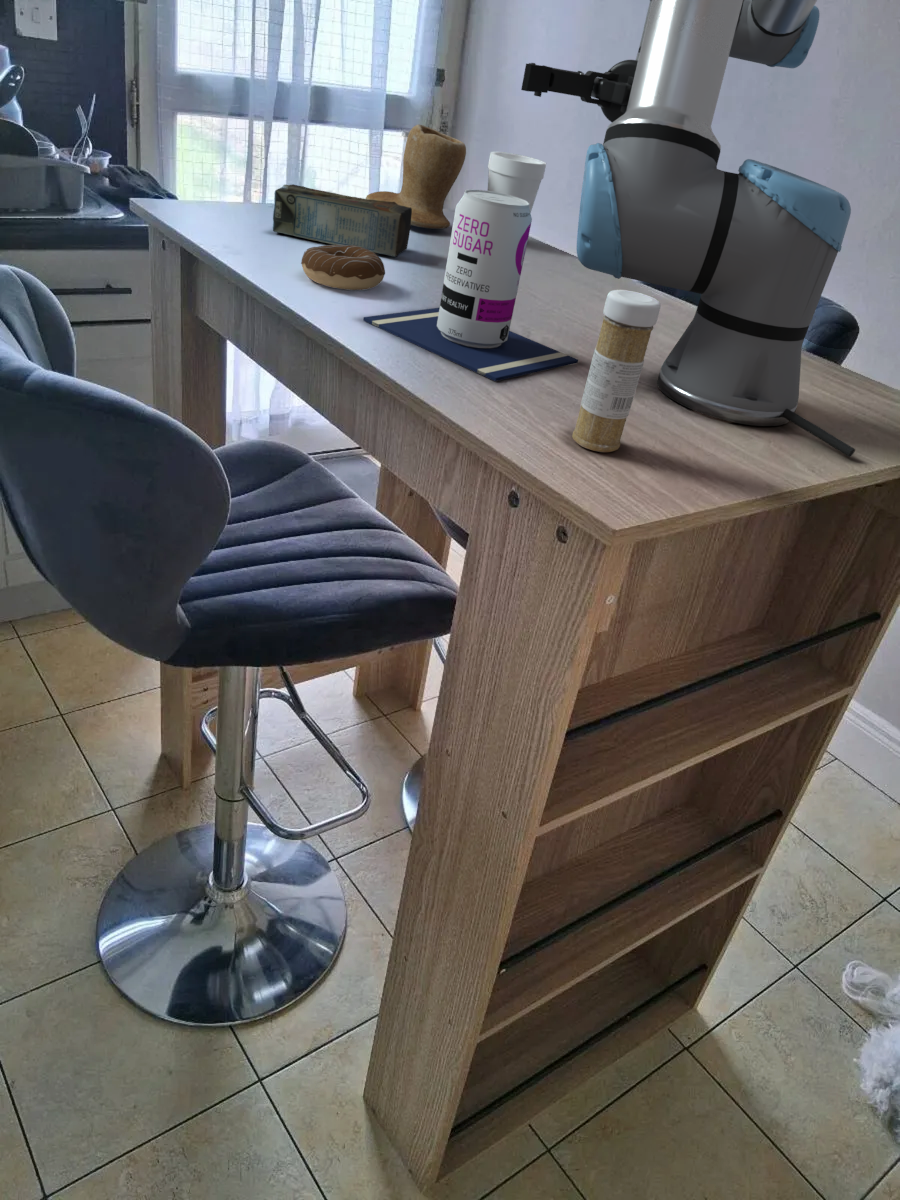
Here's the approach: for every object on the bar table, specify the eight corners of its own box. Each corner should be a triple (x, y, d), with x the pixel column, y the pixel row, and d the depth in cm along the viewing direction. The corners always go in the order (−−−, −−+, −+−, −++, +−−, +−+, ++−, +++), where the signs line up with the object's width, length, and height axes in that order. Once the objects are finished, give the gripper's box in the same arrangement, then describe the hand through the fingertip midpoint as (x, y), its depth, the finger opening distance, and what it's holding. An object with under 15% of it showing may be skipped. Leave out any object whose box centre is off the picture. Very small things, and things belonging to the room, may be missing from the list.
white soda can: (507, 334, 106) (535, 199, 98) (504, 355, 99) (534, 211, 91) (440, 321, 106) (462, 184, 98) (432, 340, 99) (455, 195, 91)
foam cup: (525, 250, 151) (542, 166, 144) (472, 238, 152) (486, 154, 145) (532, 240, 159) (548, 161, 152) (481, 229, 160) (495, 149, 153)
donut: (380, 300, 111) (384, 266, 108) (294, 285, 110) (297, 251, 107) (385, 279, 120) (389, 248, 117) (306, 265, 118) (308, 233, 116)
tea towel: (577, 363, 103) (578, 359, 102) (495, 381, 92) (496, 377, 92) (450, 309, 112) (450, 305, 112) (363, 320, 102) (363, 316, 102)
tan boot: (466, 235, 153) (483, 138, 145) (407, 233, 147) (421, 131, 139) (419, 213, 163) (432, 121, 155) (362, 210, 156) (372, 114, 148)
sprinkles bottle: (607, 434, 85) (648, 291, 78) (627, 455, 81) (671, 306, 74) (563, 432, 84) (600, 285, 76) (581, 453, 80) (621, 301, 73)
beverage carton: (287, 224, 137) (290, 177, 134) (409, 250, 136) (415, 204, 133) (270, 232, 130) (273, 184, 127) (398, 260, 130) (405, 212, 126)
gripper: (716, 145, 117) (674, 149, 100) (542, 106, 125) (477, 103, 108) (735, 80, 113) (696, 72, 96) (555, 43, 121) (489, 30, 104)
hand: (580, 89), depth 102 cm, fingers open, 13 cm apart
